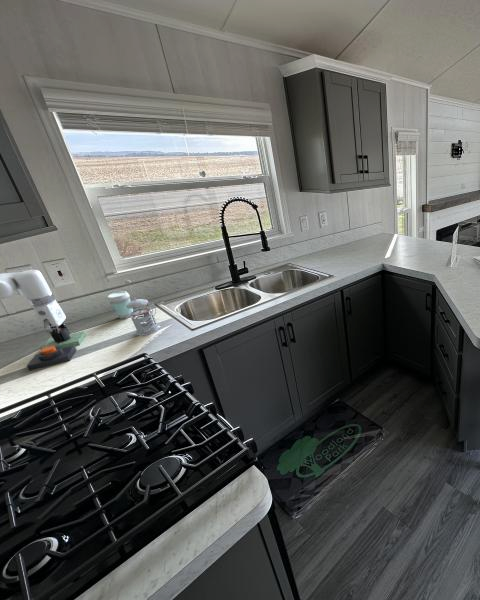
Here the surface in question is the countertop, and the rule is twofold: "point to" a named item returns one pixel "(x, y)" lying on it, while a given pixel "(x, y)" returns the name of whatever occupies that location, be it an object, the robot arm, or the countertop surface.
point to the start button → (48, 350)
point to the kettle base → (52, 358)
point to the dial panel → (73, 341)
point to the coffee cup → (120, 304)
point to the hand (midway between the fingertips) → (62, 337)
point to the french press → (144, 327)
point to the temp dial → (64, 334)
